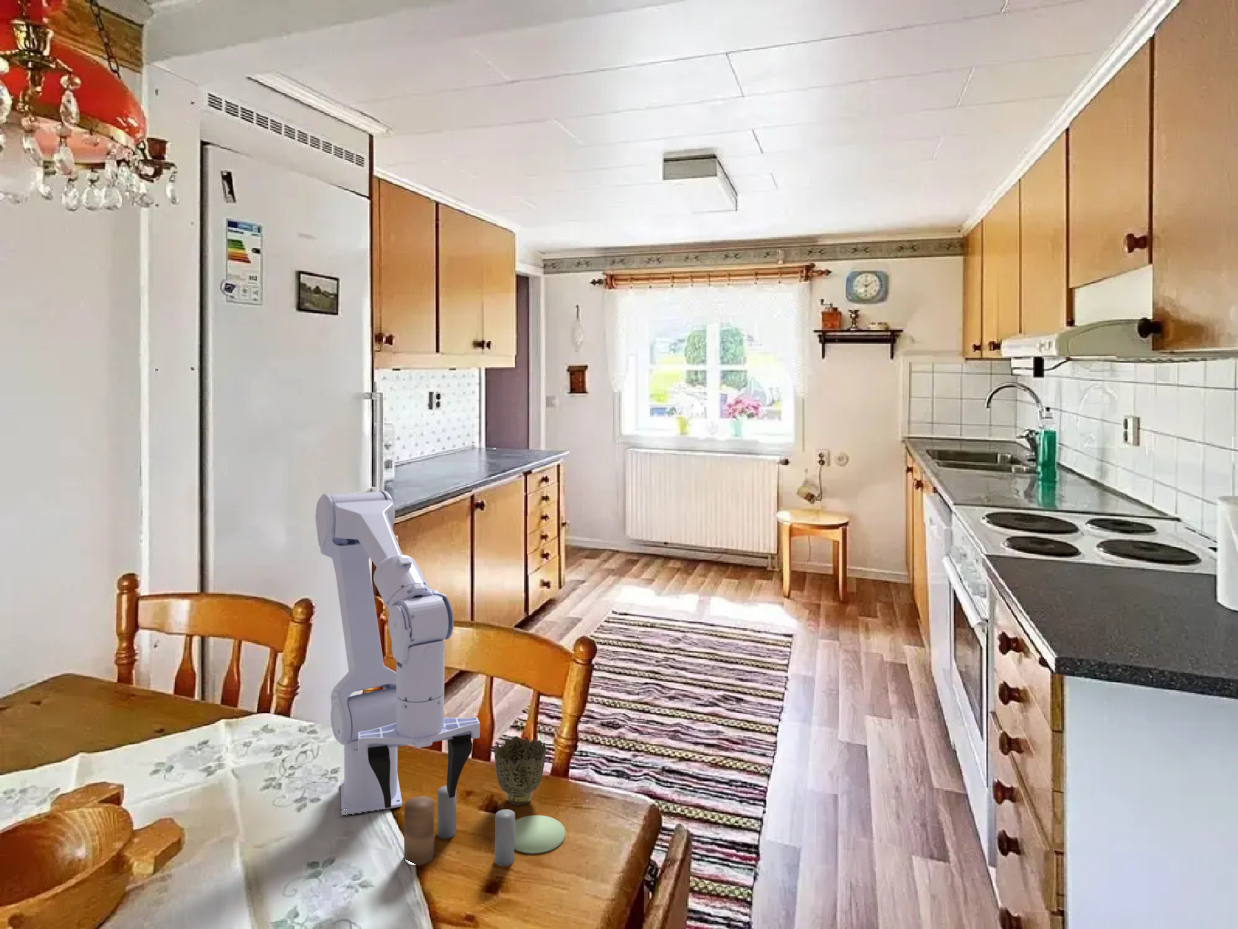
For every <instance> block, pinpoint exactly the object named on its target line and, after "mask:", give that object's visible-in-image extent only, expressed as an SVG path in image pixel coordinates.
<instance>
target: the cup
mask: <svg viewBox="0 0 1238 929" xmlns="http://www.w3.org/2000/svg"><path fill="white" fill-rule="evenodd" d="M493 749H494V750H493V753H494V763H495V772H496V773H495V774H496V778H497V783H498V785H499V787H500V789H501V790H502V791H503V792H504V793H506V798H507V801H508V803H510V805H511V804H512V805H515V806H521V805H523V806H524V805H526V804H528V803H530V801H531V800H532V797H533V792H534V791H536V789H537V788H538V787H539V786H540V784H541V781H542V779H543V774H544V768H545V762H546V761H545V760H546V753H547V749H548V748H547V747H546V743H545V742H544V743H542V741H541V740H540V739H539V740H537V738H536V737H534V738H532V740H531V741H530V739H529V737H528V736H526V737H525V738H524V740H523V739H522V737H519V736H518V735H515V736H513V737H512V738H511V739H510V738H506V739H505V740H504V744H502V745H501V746H500V745H499V743H496V745H494V746H493Z"/></svg>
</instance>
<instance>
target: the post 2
mask: <svg viewBox="0 0 1238 929" xmlns="http://www.w3.org/2000/svg"><path fill="white" fill-rule="evenodd" d="M515 820H516V813H515V811H513V810H512V809H505V808H504V809H501V810H497V811H496V813H495V823H494V824H495V825H494V826H495V827H494V828H495V830H494V831H495V832H494V863H495V865H497V866H500V867H508V866H510V865H512V864H513V863H514V860H515V849H514V836H515Z"/></svg>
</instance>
